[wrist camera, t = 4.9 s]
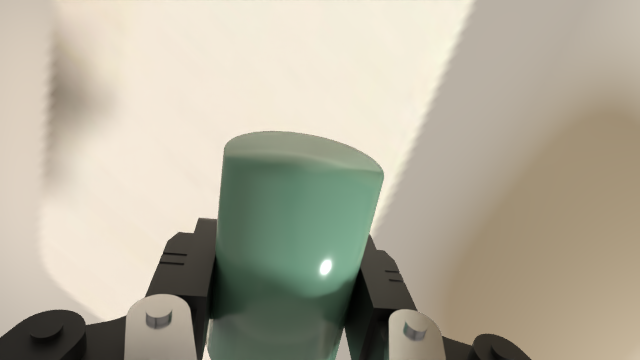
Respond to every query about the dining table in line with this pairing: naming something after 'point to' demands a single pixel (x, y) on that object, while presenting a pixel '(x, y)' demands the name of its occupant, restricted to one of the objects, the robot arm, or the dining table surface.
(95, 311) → the dining table surface
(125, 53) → the dining table surface
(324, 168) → the bottle
